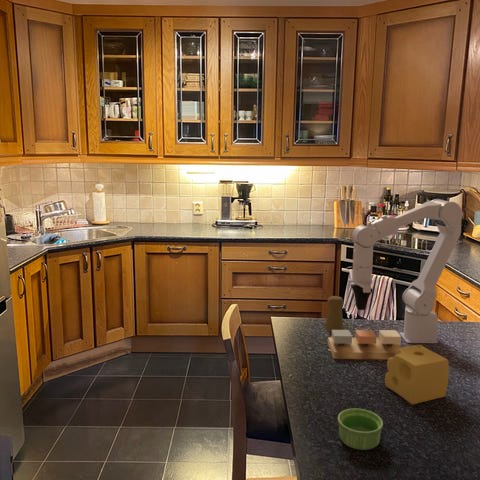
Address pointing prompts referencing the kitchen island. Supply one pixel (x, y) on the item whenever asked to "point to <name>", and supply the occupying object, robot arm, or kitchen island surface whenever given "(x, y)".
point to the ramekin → (360, 428)
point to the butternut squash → (334, 314)
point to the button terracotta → (365, 336)
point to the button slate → (342, 336)
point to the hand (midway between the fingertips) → (360, 308)
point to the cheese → (417, 374)
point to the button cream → (389, 337)
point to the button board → (362, 350)
